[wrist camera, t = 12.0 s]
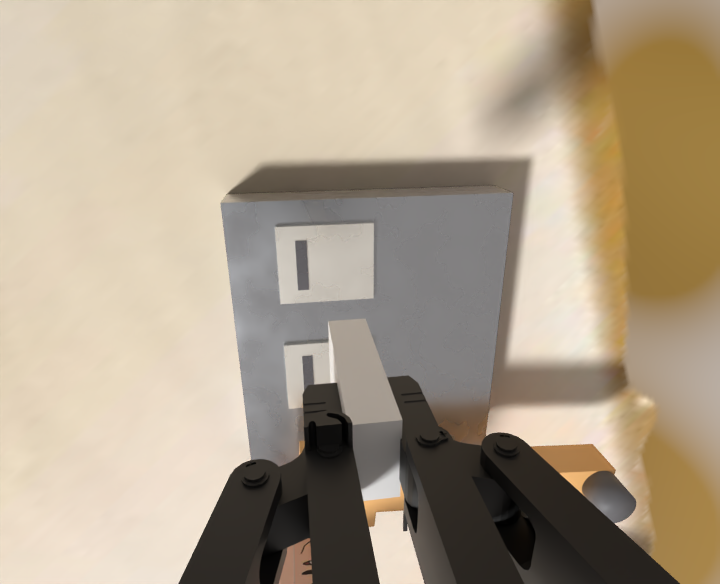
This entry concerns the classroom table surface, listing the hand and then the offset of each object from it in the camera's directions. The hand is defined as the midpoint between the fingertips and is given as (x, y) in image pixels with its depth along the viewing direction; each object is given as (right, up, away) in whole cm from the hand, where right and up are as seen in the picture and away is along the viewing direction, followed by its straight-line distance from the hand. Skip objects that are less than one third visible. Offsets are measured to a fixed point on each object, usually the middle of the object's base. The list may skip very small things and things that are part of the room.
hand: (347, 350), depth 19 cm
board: (+1, 0, +16) cm, 16 cm away
